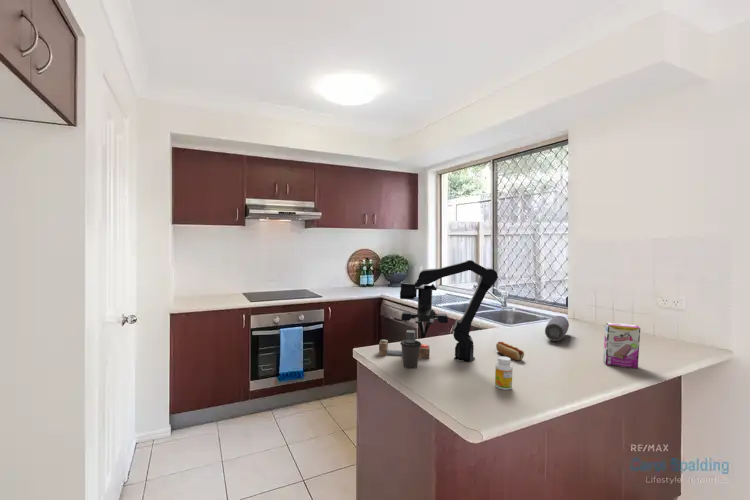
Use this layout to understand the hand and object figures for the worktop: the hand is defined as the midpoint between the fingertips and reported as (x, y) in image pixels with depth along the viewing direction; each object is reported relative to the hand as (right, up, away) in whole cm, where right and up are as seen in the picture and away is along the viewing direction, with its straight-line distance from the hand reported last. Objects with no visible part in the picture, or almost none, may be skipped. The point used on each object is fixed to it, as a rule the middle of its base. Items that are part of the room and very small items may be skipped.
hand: (423, 337), depth 152 cm
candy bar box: (+78, -10, -6) cm, 79 cm away
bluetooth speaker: (+72, -8, +33) cm, 79 cm away
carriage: (-6, -8, +1) cm, 10 cm away
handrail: (-9, -8, +2) cm, 12 cm away
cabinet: (0, -8, 0) cm, 8 cm away
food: (+37, -9, +3) cm, 38 cm away
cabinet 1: (-17, -7, +3) cm, 19 cm away
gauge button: (0, -7, 0) cm, 7 cm away
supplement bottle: (+23, -10, -29) cm, 38 cm away
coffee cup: (-7, -8, -12) cm, 16 cm away
